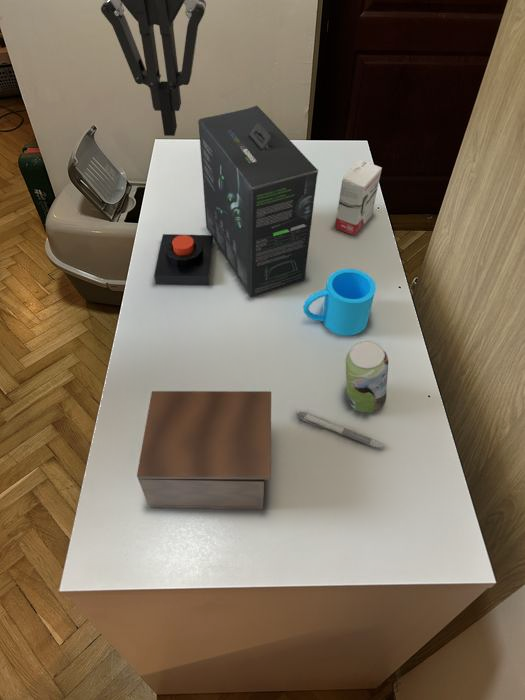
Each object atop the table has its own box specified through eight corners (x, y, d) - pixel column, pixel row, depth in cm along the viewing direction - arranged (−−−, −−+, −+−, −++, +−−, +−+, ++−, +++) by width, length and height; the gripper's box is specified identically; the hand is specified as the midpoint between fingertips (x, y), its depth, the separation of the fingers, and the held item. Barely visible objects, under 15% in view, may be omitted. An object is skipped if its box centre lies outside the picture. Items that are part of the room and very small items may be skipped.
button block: (155, 284, 100) (152, 268, 96) (164, 242, 107) (161, 226, 104) (208, 285, 100) (207, 269, 96) (213, 243, 107) (212, 227, 104)
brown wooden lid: (271, 394, 73) (271, 391, 72) (270, 479, 65) (270, 476, 64) (152, 394, 73) (151, 391, 73) (137, 478, 65) (136, 476, 65)
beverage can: (389, 413, 82) (406, 366, 73) (343, 419, 82) (354, 373, 72) (377, 380, 86) (392, 332, 77) (333, 386, 85) (342, 338, 76)
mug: (360, 299, 98) (367, 266, 91) (373, 332, 93) (382, 300, 86) (296, 306, 96) (299, 273, 90) (306, 340, 91) (310, 308, 85)
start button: (172, 255, 99) (170, 248, 98) (174, 241, 102) (173, 234, 100) (193, 256, 99) (192, 249, 98) (195, 242, 102) (194, 235, 100)
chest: (264, 429, 80) (265, 396, 73) (263, 509, 72) (264, 481, 66) (161, 427, 80) (152, 394, 73) (148, 507, 72) (137, 479, 66)
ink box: (354, 237, 109) (364, 187, 100) (333, 228, 111) (340, 178, 101) (372, 215, 114) (383, 166, 104) (352, 207, 115) (361, 158, 106)
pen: (296, 413, 82) (297, 408, 81) (383, 447, 79) (385, 442, 78) (294, 418, 82) (294, 413, 81) (381, 453, 78) (383, 448, 77)
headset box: (307, 281, 101) (321, 157, 80) (250, 300, 97) (249, 176, 77) (256, 214, 113) (257, 92, 93) (204, 229, 110) (193, 106, 90)
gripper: (205, -77, 62) (217, 118, 80) (93, -79, 62) (131, 117, 80) (198, -58, 57) (212, 145, 75) (77, -60, 57) (121, 143, 76)
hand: (170, 130), depth 78 cm, fingers closed
